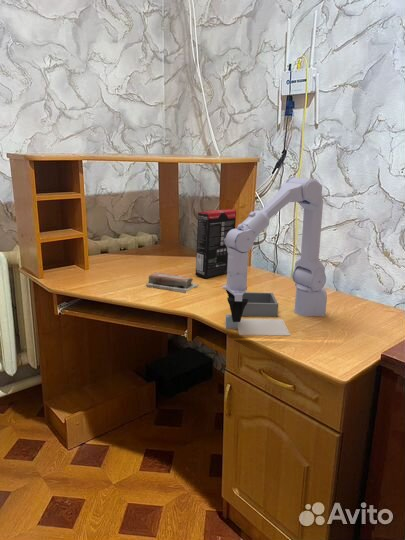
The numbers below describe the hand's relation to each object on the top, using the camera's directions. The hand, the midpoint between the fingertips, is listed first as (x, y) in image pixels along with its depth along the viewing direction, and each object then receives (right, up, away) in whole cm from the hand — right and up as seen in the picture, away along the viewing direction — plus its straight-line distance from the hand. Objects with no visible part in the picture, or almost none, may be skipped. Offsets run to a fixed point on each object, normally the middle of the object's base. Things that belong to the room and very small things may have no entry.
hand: (235, 316), depth 123 cm
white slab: (+6, -4, +1) cm, 8 cm away
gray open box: (+7, 0, +15) cm, 16 cm away
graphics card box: (-4, +12, +57) cm, 58 cm away
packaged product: (-21, +7, +39) cm, 45 cm away
